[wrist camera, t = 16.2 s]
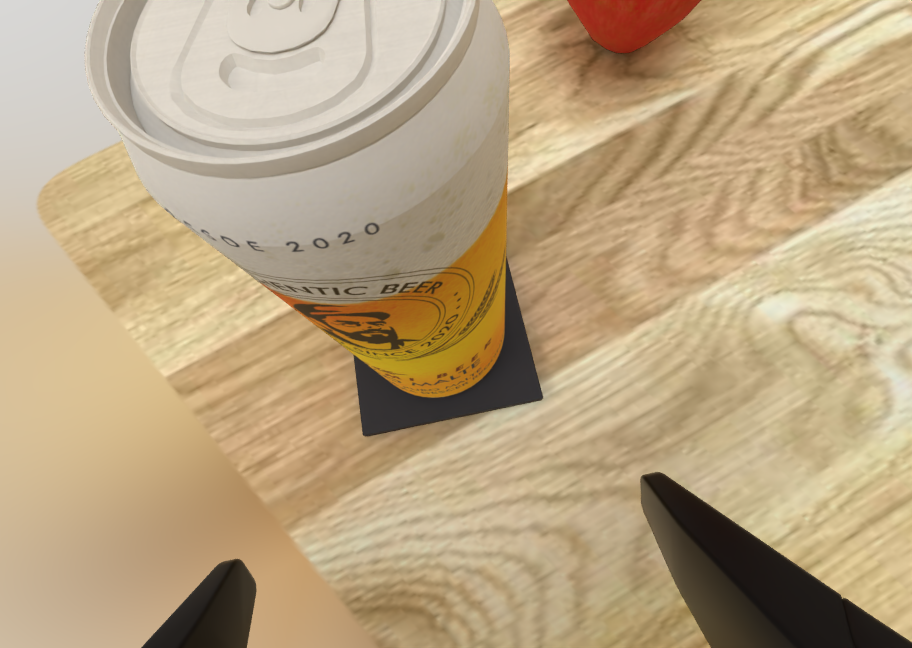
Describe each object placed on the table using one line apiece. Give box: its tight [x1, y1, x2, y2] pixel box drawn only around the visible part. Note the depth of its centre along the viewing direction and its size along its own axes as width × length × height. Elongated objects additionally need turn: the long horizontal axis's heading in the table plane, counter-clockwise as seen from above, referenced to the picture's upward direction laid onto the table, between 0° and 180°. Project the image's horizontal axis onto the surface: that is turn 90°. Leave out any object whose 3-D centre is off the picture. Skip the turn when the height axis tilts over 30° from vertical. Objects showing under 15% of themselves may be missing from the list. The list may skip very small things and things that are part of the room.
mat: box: [354, 258, 543, 436], centre depth 20 cm, size 8×8×1 cm
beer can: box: [85, 0, 510, 398], centre depth 13 cm, size 6×6×15 cm
